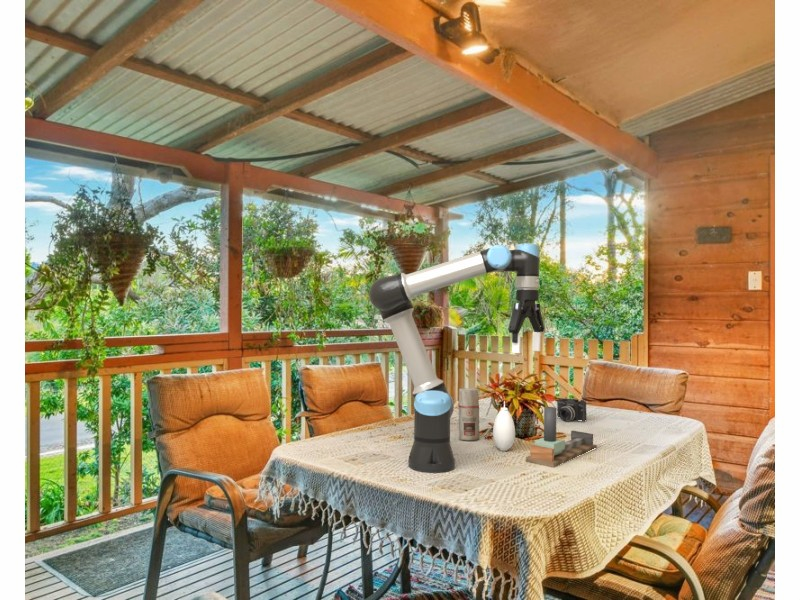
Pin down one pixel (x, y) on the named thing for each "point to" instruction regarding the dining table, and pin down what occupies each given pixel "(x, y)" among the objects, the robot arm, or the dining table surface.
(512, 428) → the white air blower bulb
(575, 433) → the rail bed
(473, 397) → the spray can
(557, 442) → the green base with post
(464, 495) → the dining table surface
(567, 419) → the camera
